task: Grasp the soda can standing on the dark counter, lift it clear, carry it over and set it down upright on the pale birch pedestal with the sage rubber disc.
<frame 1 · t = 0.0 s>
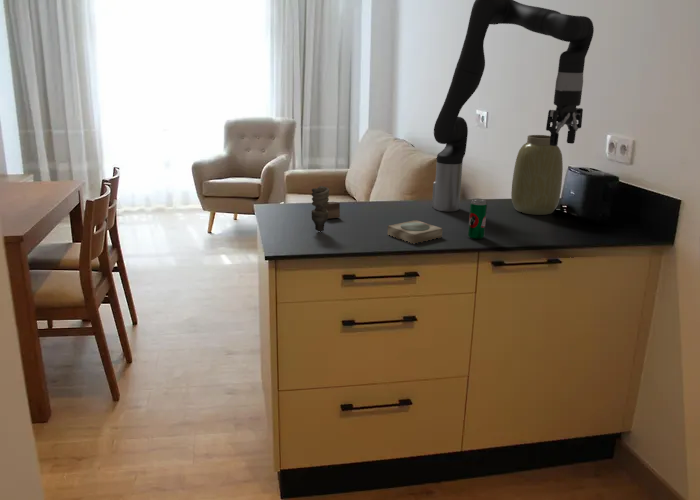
hand: (562, 144, 188), 29 cm above the counter, fingers open, 8 cm apart
pedestal: (414, 236, 196), on the counter
light bulb: (320, 233, 198), on the counter
soda can: (475, 238, 196), on the counter
vase: (533, 211, 230), on the counter
walnut cube: (329, 202, 215), point 5 cm above the counter, tilted 173°
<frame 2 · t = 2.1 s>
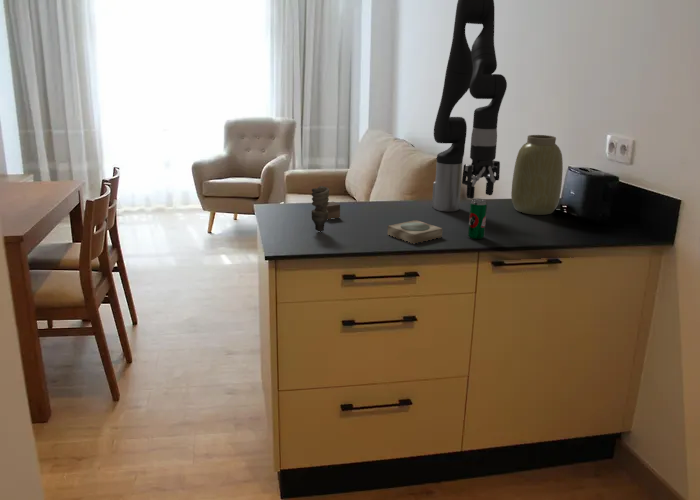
hand: (479, 196, 192), 13 cm above the counter, fingers open, 8 cm apart
walnut cube: (330, 203, 215), point 5 cm above the counter, tilted 180°
everything else where it was.
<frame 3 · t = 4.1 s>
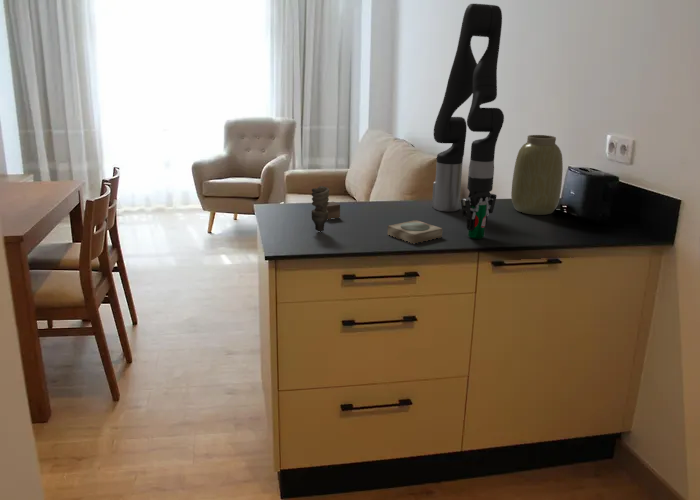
hand: (476, 228, 195), 3 cm above the counter, fingers closed on soda can, 5 cm apart
soda can: (475, 238, 196), on the counter, touching gripper
everything else where it was.
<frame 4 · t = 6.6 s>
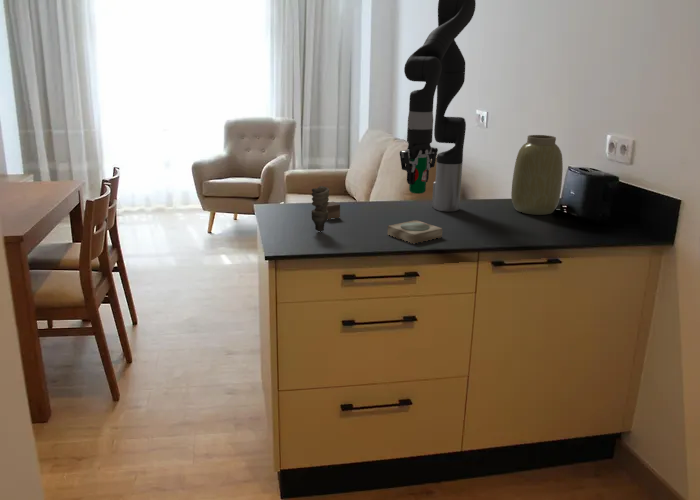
hand: (417, 182, 191), 17 cm above the counter, fingers closed on soda can, 5 cm apart
soda can: (417, 192, 192), point 14 cm above the counter, touching gripper
everything else where it was.
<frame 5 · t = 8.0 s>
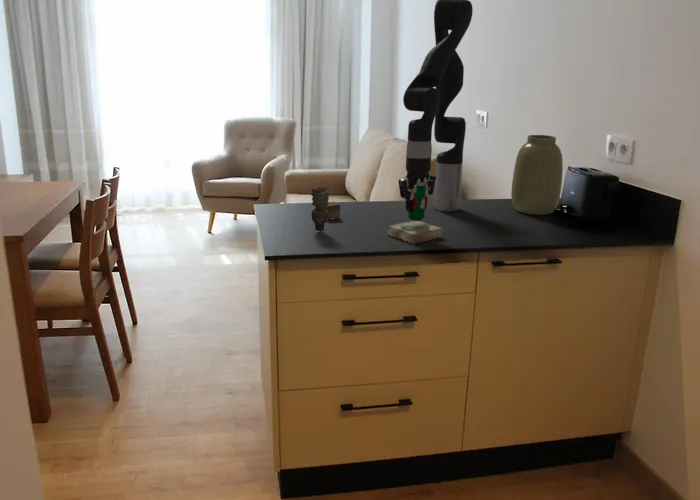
hand: (416, 209, 193), 9 cm above the counter, fingers closed on soda can, 5 cm apart
soda can: (415, 219, 194), point 5 cm above the counter, touching gripper
everything else where it was.
when the fingers open (7 cm above the counter, at t = 9.1 s): soda can drops 1 cm, resting on pedestal.
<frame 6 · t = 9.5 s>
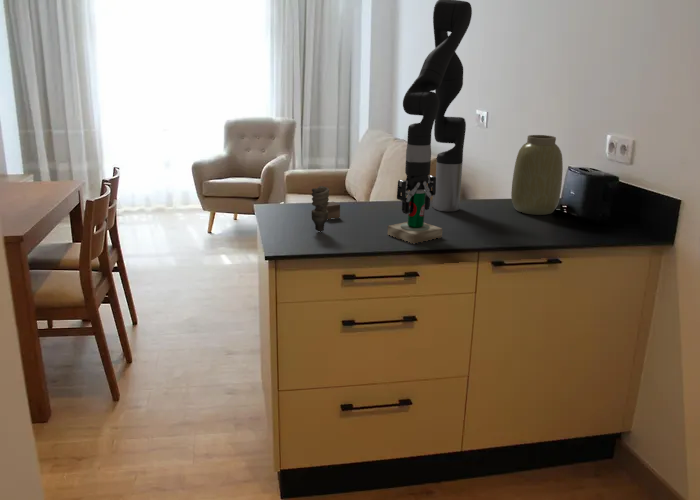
hand: (415, 211, 194), 8 cm above the counter, fingers open, 8 cm apart
soda can: (415, 226, 195), point 3 cm above the counter, touching pedestal
everything else where it was.
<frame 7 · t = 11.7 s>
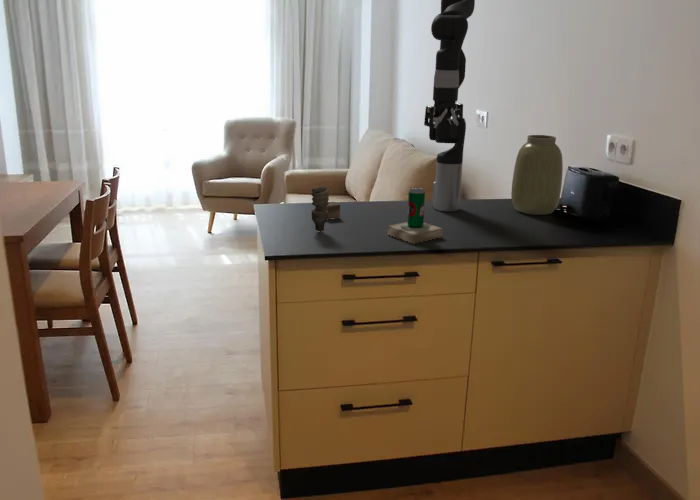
hand: (442, 138, 196), 29 cm above the counter, fingers open, 8 cm apart
nothing on the counter moved.
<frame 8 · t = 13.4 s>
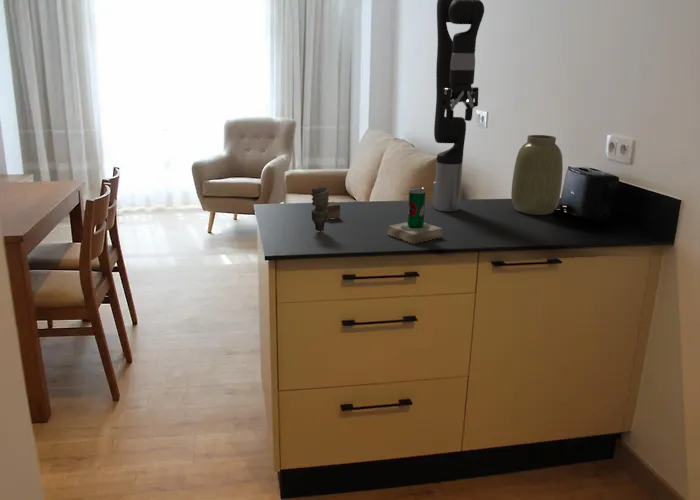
hand: (458, 121, 200), 34 cm above the counter, fingers open, 8 cm apart
nothing on the counter moved.
at the end: soda can 0.1 cm from the pedestal (horizontally); soda can touching pedestal; soda can tilted 1° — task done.
